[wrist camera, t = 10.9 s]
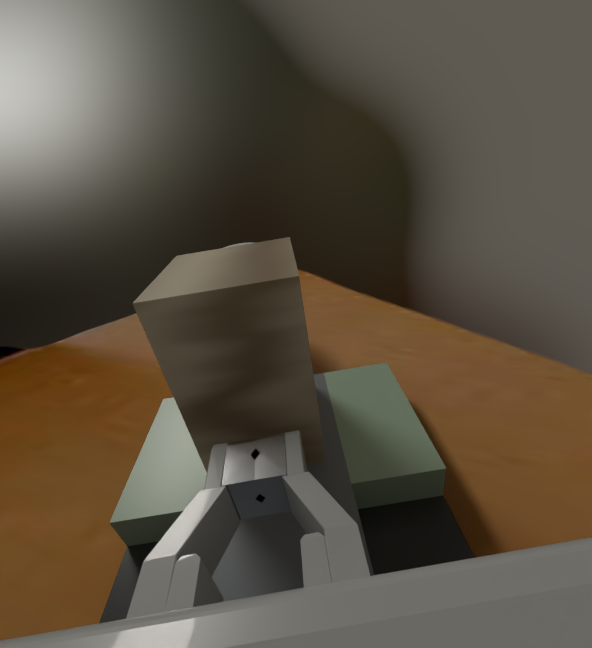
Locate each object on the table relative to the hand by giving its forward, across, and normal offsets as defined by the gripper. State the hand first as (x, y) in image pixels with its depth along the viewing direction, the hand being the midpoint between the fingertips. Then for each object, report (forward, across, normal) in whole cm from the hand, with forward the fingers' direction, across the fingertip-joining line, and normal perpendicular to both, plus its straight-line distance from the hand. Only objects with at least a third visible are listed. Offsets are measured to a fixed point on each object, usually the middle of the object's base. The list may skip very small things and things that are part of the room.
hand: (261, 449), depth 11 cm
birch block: (+6, -1, -5) cm, 8 cm away
